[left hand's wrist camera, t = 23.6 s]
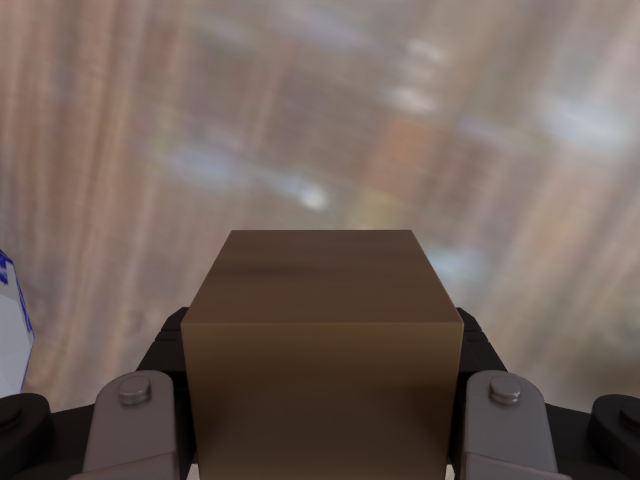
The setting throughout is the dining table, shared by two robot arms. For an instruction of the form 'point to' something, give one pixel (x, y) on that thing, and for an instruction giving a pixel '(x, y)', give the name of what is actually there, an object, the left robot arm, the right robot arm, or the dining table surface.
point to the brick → (322, 358)
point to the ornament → (13, 331)
